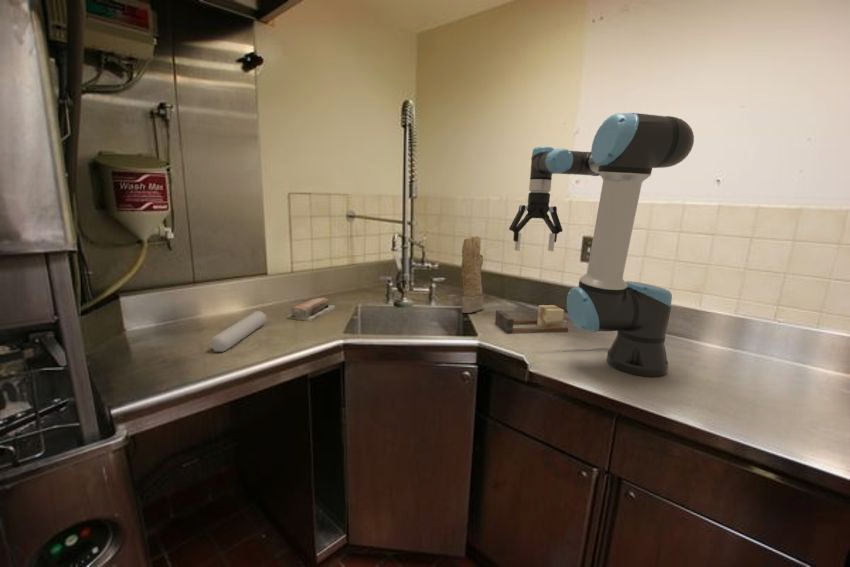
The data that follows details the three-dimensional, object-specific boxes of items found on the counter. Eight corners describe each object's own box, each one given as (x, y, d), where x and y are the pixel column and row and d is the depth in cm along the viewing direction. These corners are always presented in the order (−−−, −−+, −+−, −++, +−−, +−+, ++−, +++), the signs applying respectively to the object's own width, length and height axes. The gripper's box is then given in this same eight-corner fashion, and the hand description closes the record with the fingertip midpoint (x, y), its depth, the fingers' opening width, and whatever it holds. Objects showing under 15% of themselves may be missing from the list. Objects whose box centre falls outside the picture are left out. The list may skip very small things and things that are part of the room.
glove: (485, 315, 154) (491, 238, 148) (458, 313, 155) (463, 237, 148) (482, 306, 168) (487, 235, 161) (457, 304, 168) (461, 233, 162)
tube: (227, 341, 107) (268, 314, 132) (209, 334, 107) (253, 308, 131) (222, 358, 108) (264, 328, 133) (204, 351, 108) (249, 322, 133)
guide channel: (568, 335, 134) (570, 318, 133) (507, 337, 130) (508, 320, 129) (550, 324, 146) (552, 308, 145) (494, 326, 141) (495, 309, 140)
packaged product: (310, 309, 137) (285, 306, 140) (311, 322, 138) (286, 319, 141) (335, 297, 154) (312, 295, 157) (335, 309, 155) (313, 306, 158)
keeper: (561, 329, 137) (564, 310, 135) (545, 330, 135) (547, 310, 134) (552, 324, 143) (554, 305, 141) (537, 324, 141) (539, 305, 140)
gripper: (564, 193, 150) (558, 249, 154) (503, 190, 145) (498, 249, 149) (576, 193, 143) (569, 252, 147) (511, 190, 137) (506, 251, 142)
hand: (534, 250), depth 148 cm, fingers open, 13 cm apart
